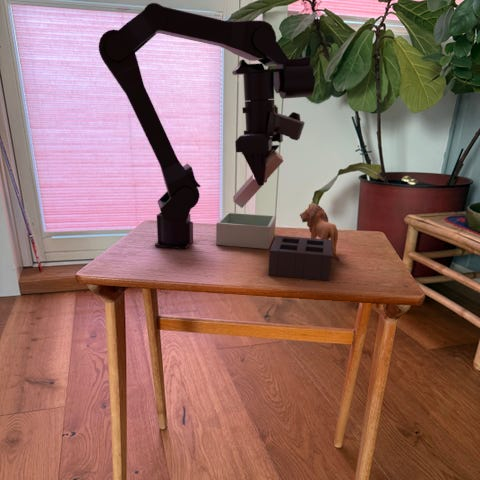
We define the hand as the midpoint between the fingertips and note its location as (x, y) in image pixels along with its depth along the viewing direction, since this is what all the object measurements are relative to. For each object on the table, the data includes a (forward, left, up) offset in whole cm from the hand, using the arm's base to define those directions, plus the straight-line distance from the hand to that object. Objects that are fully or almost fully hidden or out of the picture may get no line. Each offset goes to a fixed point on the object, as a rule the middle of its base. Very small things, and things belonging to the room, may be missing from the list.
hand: (262, 184), depth 94 cm
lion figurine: (+13, -4, -13) cm, 19 cm away
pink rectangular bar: (-5, 0, -4) cm, 7 cm away
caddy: (+10, -16, -12) cm, 22 cm away
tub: (-3, +1, -12) cm, 13 cm away
